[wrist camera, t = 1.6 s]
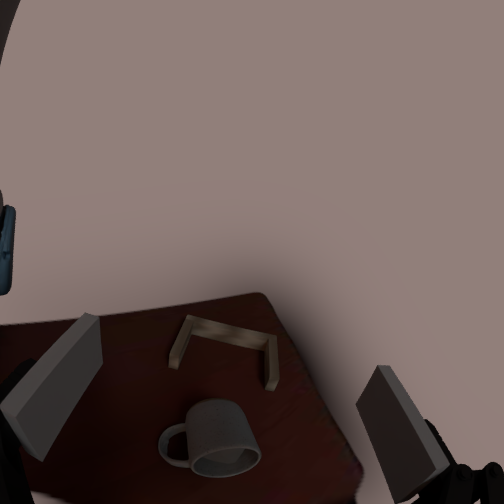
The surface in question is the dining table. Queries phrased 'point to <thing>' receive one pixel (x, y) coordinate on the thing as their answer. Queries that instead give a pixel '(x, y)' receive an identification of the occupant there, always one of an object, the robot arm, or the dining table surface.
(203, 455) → the ceramic mug
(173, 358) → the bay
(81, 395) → the robot arm
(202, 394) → the dining table surface
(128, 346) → the dining table surface
